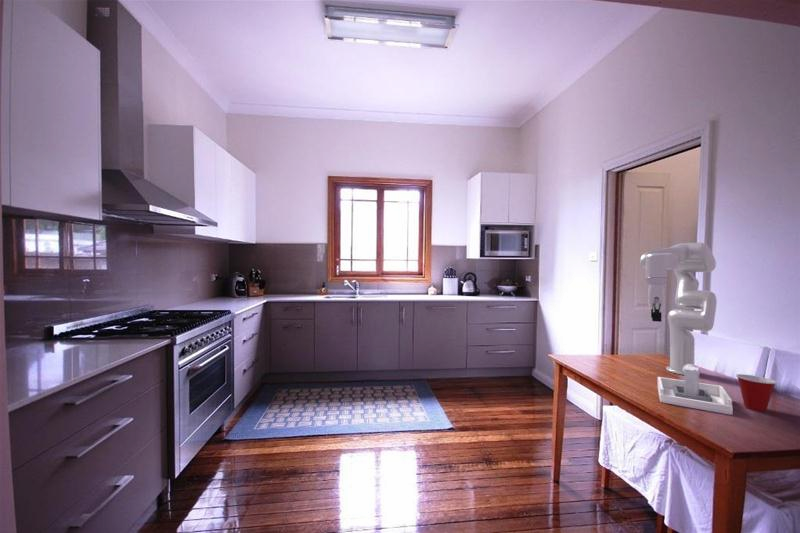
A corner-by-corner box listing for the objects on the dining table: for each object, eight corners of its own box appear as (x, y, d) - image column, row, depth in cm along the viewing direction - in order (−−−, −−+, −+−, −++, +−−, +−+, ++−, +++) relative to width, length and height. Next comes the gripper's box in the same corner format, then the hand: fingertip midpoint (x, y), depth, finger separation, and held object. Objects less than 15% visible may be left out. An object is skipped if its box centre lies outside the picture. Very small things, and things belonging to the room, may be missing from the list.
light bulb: (703, 389, 149) (703, 366, 149) (687, 388, 150) (687, 365, 150) (694, 384, 155) (694, 362, 154) (679, 383, 156) (679, 362, 156)
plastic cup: (780, 410, 128) (780, 378, 128) (772, 417, 122) (772, 384, 122) (740, 400, 137) (740, 370, 137) (731, 406, 131) (731, 375, 131)
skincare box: (685, 394, 141) (685, 365, 141) (699, 397, 138) (699, 367, 138) (683, 398, 137) (683, 368, 137) (698, 401, 134) (698, 371, 134)
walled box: (657, 387, 151) (657, 376, 151) (721, 398, 139) (721, 386, 139) (660, 402, 136) (660, 389, 136) (732, 415, 124) (732, 401, 124)
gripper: (645, 280, 161) (645, 316, 161) (646, 282, 146) (646, 321, 147) (665, 280, 156) (665, 317, 157) (668, 282, 142) (668, 323, 142)
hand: (656, 319), depth 152 cm, fingers open, 9 cm apart
